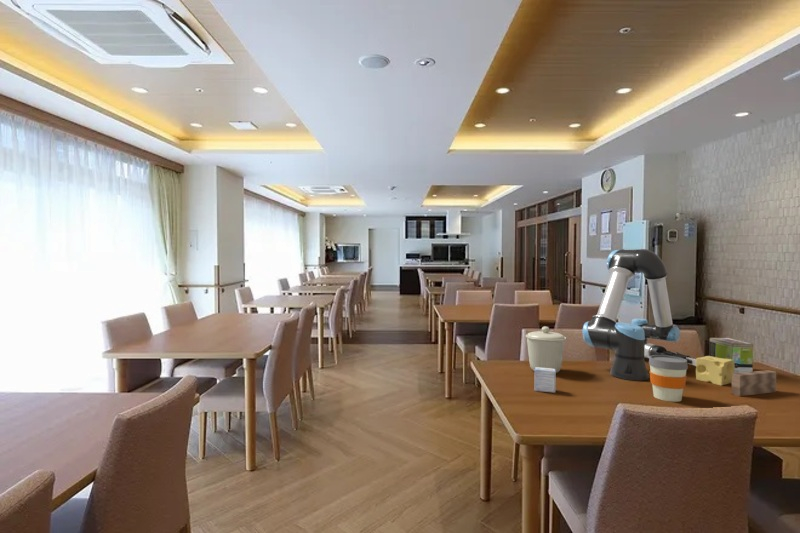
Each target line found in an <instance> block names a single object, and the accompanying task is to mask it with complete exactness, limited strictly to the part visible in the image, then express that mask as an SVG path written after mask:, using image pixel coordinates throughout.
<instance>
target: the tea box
mask: <svg viewBox="0 0 800 533" xmlns="http://www.w3.org/2000/svg"><path fill="white" fill-rule="evenodd" d="M708 356H712V357H717V358H723V359H731V360H734V366H735V370H734V373H743V372H754V371H753V369H754V365H753V364H754V343H752V342H749V341H748V342H747V341H743V340H739V339H735V338H729V337H709V355H708Z"/></svg>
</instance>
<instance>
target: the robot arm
mask: <svg viewBox="0 0 800 533" xmlns="http://www.w3.org/2000/svg"><path fill="white" fill-rule="evenodd" d="M606 268H607V270H608V272H609V275H610V276H609V279H608V281H607V285H606V287H605V291H604V293H603V295H602V299H601V302H600V305H599V307H598V310H597V314H595V315H592V318H591V320H590V321H589V320H588V321H586V322H584V323H583V326H582V338H583V341H584V342H585V344H586V345H588V346H589V347H593V348H600V349H605V350H611V351H614V359H613V362H612V365H611V367H610V372H609V373H610V375H611V376H613V377H615V378H618V379H623V380H627V381H628V380H629V381H646V380H647V381H648V380H649V379H650V373H649V371H648V369H647V365H646V362H645V358H647V359H649V358H650V356H652V355H667V356H674V357H679V358H683V359H686V360H687V365H691V366H694V367H696V359H697V358H692V356H690V355H687V354H684V353H681V352H677V351H676V352H674V351H673V352H672V351H671V350H667V349H666V348H665V347H664V346H661V345H657V344H654V343H649V342H648V339H652V340H659V341H665V342H673V343H676V342H678V341H679V340H680V337H681V330H680V328H679V327H678V326H674V324H673V319H672V311H671V307H670V306H671V305H670V298H669V293H668V287H667V280H666V278H667V276H668V273H667V268H666V264H665V263H664V262H663V260H662V259H661V257H660V256H659V255H657V254H656V252H654V251H652V250H649V249H645V248H641V249H636V248H635V249H625V248H622V249H615V250H612V251H611V252H610V253H609V254H608V257H607V259H606ZM636 273H637V274H638V273H639V274H640V273H641V274H643V276H644V279H645V280H647V281H646V282H647V287H648V293H649V296H650V297H649V298H650V302H651V307H652V312H653V317H654V318H653V320H654V323H649V322H648V319H646V318H639V317H638V318H636V317H635V318H633V319H631V323H628V322H617V318H618V314H619V312H620V308H621V305H622V303H623V300H624V296H625V294H626V290H627V288H628V285H629V282H630V280H633V279H634V278H635V274H636Z"/></svg>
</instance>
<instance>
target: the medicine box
mask: <svg viewBox="0 0 800 533" xmlns="http://www.w3.org/2000/svg"><path fill="white" fill-rule="evenodd" d="M556 374H557V373H556V371H555V369H552V368H540V367H535V371H534V391H535V392H545V393H556V376H557V375H556Z"/></svg>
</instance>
